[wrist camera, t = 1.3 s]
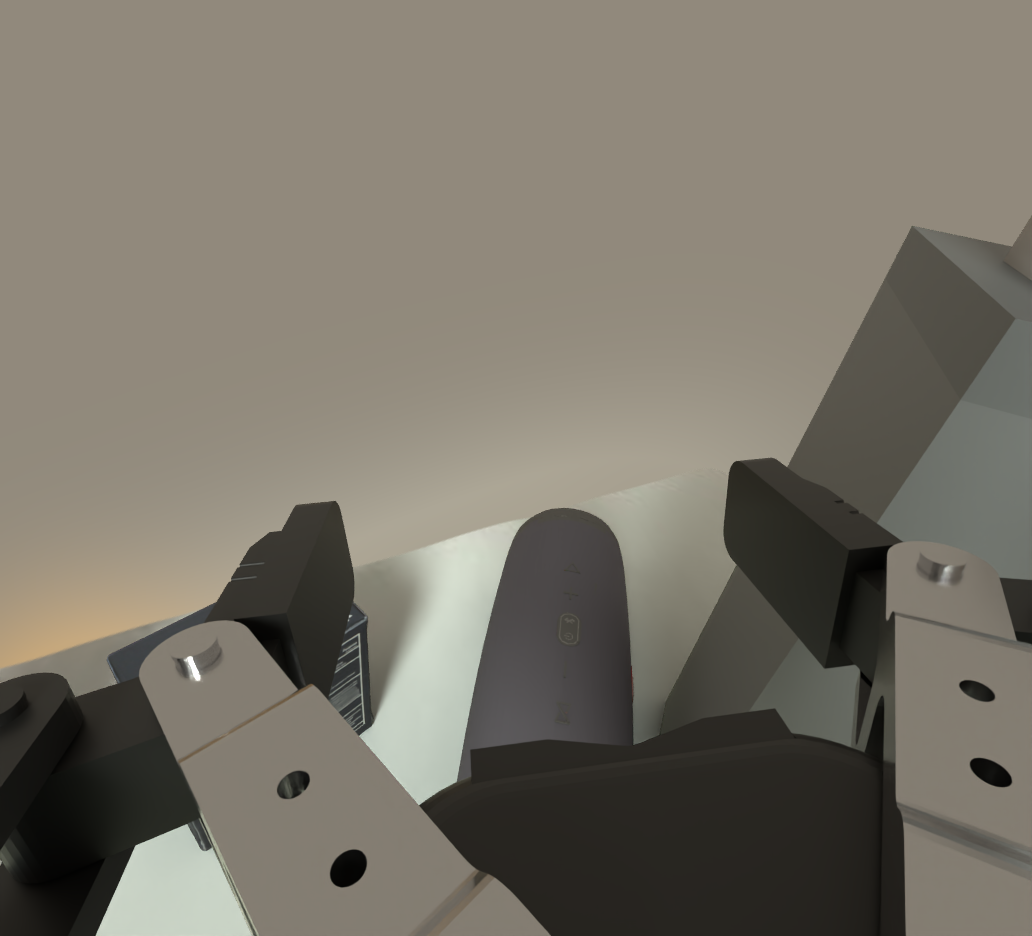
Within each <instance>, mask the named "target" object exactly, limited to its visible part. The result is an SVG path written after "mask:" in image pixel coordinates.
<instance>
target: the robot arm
mask: <svg viewBox="0 0 1032 936" xmlns="http://www.w3.org/2000/svg"><path fill="white" fill-rule="evenodd" d="M724 541H725V545H726V548H727V551H728V553H729V555H730V557H731V558H732V560H733V561H734V562H735V563H736V564H737V566H738V567H739V568H740V569H741V570H742V571H743V573H744V574H745V575H746V576H747V577H748V579H749V580H750V581H751V582H752V583H753V585H754V586H755V587H756V588H757V589H758V590H759V592H760V593H761V594H762V595H763V596H764V598H765V599H766V600H767V601H768V602H769V604H770V605H771V606H772V607H773V608H774V609H775V611H776V612H777V613H778V614H779V615H780V617H781V618H782V619H783V620H784V621H785V623H786V624H787V625H788V626H789V627H790V628H791V630H792V631H793V632H794V633H795V634H796V636H797V637H798V638H799V639H800V640H801V642H802V643H803V644H804V645H805V646H806V647H807V649H808V650H809V651H810V652H811V653H812V655H813V656H814V657H815V658H816V659H817V661H818V662H819V663H820V664H821V665H822V667H823V668H824V669H828V668H835V667H843V666H850V665H856V666H857V667H858V668H859V669H860V670H859V674H858V679H857V683H856V687H855V699H854V712H853V725H852V738H851V747H849V746H846V745H843V744H841V743H837V742H834V741H830V740H827V739H823V738H819V737H814V736H808V735H803V734H795V733H791V731H790V730H789V728H788V727H787V725H786V724H785V722H784V721H783V719H782V718H781V716H780V715H779V713H778V712H777V710H776V709H775V708H773V709H766V710H759V711H751V712H744V713H736V714H729V715H722V716H714V717H707V718H702V719H699V720H697V721H694V722H692V723H689V724H687V725H684V726H682V727H679V728H677V729H674V730H672V731H669V732H667V733H664V734H662V735H659V736H657V737H654V738H652V739H649V740H647V741H644V742H642V743H639V744H636V745H631V746H621V745H609V744H598V743H586V742H574V741H563V740H551V739H545V740H538V741H530V742H523V743H516V744H508V745H501V746H493V747H486V748H479V749H471V750H470V758H471V776H470V777H468V778H465V779H463V780H460V781H458V782H456V783H454V784H452V785H450V786H448V787H446V788H445V789H443V790H441V791H439V792H438V793H436V794H435V795H433V796H432V797H430V798H429V799H427V800H426V801H424V802H423V803H422V804H420V805H418V804H417V803H416V802H415V800H414V799H413V798H412V797H411V796H410V795H409V794H408V792H407V791H406V790H405V789H404V788H403V787H402V785H401V784H400V783H399V782H398V781H397V780H396V778H395V777H394V776H393V775H392V774H391V773H390V772H389V770H388V769H387V768H386V767H385V766H384V765H383V763H382V762H381V761H380V760H379V759H378V758H377V756H376V755H375V754H374V753H373V752H372V751H371V749H370V748H369V747H368V746H367V745H366V744H365V743H364V741H363V740H362V739H361V738H360V737H359V736H358V734H357V733H356V732H355V731H354V730H353V729H352V727H351V726H350V725H349V724H348V723H347V722H346V720H345V719H344V718H343V717H342V716H341V715H340V714H339V712H338V711H337V710H336V709H335V708H334V707H333V705H332V704H331V703H330V702H329V701H328V698H329V694H330V690H331V686H332V682H333V678H334V674H335V670H336V666H337V662H338V658H339V654H340V650H341V646H342V643H343V639H344V635H345V631H346V627H347V623H348V619H349V615H350V611H351V607H352V603H353V599H354V574H353V567H352V563H351V558H350V553H349V548H348V544H347V539H346V534H345V529H344V524H343V520H342V515H341V511H340V508H339V505H338V503H337V502H336V501H331V502H321V503H311V504H302V505H296V506H295V507H294V509H293V511H292V513H291V514H290V516H289V518H288V520H287V522H286V524H285V525H284V527H283V529H282V531H277V532H269V533H268V534H267V535H266V536H264V537H263V538H262V539H260V540H259V541H258V542H257V543H255V544H254V545H253V546H251V547H250V548H249V550H248V552H247V553H246V555H245V556H244V558H243V560H242V561H241V563H240V567H239V568H237V569H236V571H235V573H234V574H233V576H232V578H231V582H229V583H228V584H227V586H226V587H225V589H224V591H223V592H222V594H221V596H220V598H219V599H218V601H217V602H216V604H215V605H214V607H213V609H212V610H211V612H210V614H209V615H208V617H207V618H206V620H205V622H204V623H203V624H199V625H196V626H193V627H190V628H188V629H185V630H183V631H181V632H179V633H177V634H175V635H173V636H171V637H170V638H168V639H167V640H165V641H164V642H162V643H161V644H160V645H158V646H157V647H156V648H155V649H154V650H153V651H151V653H150V654H149V655H148V656H147V657H146V658H145V660H144V662H143V663H142V665H141V668H140V670H139V677H136V678H133V679H131V680H128V681H125V682H122V683H118V684H115V685H112V686H109V687H106V688H103V689H100V690H97V691H93V692H90V693H87V694H84V695H81V696H78V697H75V696H74V694H73V692H72V690H71V688H70V686H69V684H68V682H67V680H66V679H65V678H64V677H63V676H60V675H58V674H54V673H36V674H30V675H25V676H21V677H18V678H14V679H11V680H8V681H6V682H3V683H0V859H1V861H2V864H1V865H0V936H95V935H96V933H97V931H98V929H99V926H100V924H101V922H102V920H103V917H104V915H105V913H106V911H107V908H108V906H109V904H110V902H111V899H112V897H113V895H114V893H115V890H116V888H117V886H118V884H119V881H120V879H121V877H122V875H123V872H124V870H125V868H126V866H127V863H128V861H129V859H130V857H131V854H132V852H133V850H134V848H135V845H138V844H140V843H142V842H145V841H147V840H150V839H152V838H154V837H157V836H159V835H162V834H164V833H166V832H169V831H171V830H173V829H176V828H178V827H181V826H183V825H185V824H188V823H190V822H193V821H195V820H197V819H200V821H201V824H202V826H203V828H204V830H205V833H206V835H207V837H208V839H209V841H210V844H211V846H212V848H213V850H214V852H215V855H216V857H217V859H218V861H219V863H220V866H221V868H222V870H223V872H224V875H225V877H226V879H227V881H228V883H229V886H230V888H231V890H232V892H233V894H234V897H235V899H236V901H237V903H238V906H239V908H240V910H241V912H242V914H243V917H244V919H245V921H246V923H247V926H248V928H249V930H250V932H251V935H252V936H1032V580H1026V579H1012V578H999V575H998V573H997V571H996V570H995V569H994V568H993V567H992V566H991V565H990V564H989V563H987V562H986V561H984V560H983V559H981V558H979V557H977V556H975V555H973V554H971V553H969V552H967V551H964V550H961V549H958V548H955V547H952V546H948V545H944V544H939V543H933V542H925V541H908V542H903V541H901V540H900V539H898V538H897V537H896V536H894V535H893V534H891V533H890V532H889V531H887V530H886V529H884V528H883V527H881V526H880V525H879V524H877V523H876V522H874V521H873V520H871V519H870V518H869V517H867V516H866V515H864V514H863V513H860V514H859V510H857V509H856V508H854V507H853V506H851V505H850V504H849V503H844V500H843V499H842V498H840V497H839V496H837V495H836V494H834V493H833V492H832V491H830V490H829V489H827V488H826V487H823V486H821V485H818V484H816V483H813V482H810V481H808V480H805V479H803V478H801V477H800V476H798V475H797V474H796V473H794V472H793V471H791V470H790V469H789V468H787V467H786V466H784V465H783V464H782V463H780V462H779V461H778V460H776V459H774V458H764V459H754V460H744V461H736V462H734V463H733V464H732V466H731V468H730V472H729V479H728V489H727V499H726V509H725V519H724Z"/></svg>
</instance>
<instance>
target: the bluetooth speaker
mask: <svg viewBox="0 0 1032 936" xmlns="http://www.w3.org/2000/svg"><path fill="white" fill-rule="evenodd" d="M633 687H634V686H633V677H632V666H631V654H630V635H629V622H628V608H627V596H626V586H625V575H624V567H623V561H622V556H621V552H620V548H619V544H618V541H617V539H616V537H615V535H614V533H613V532H612V531H611V529H610V528H609V527H608V525H607V524H606V523H604V522H603V521H602V520H601V519H599V518H598V517H596V516H594V515H592V514H590V513H587V512H584V511H581V510H576V509H569V508H559V509H550V510H546V511H544V512H541V513H539V514H537V515H535V516H534V517H532V518H530V519H529V520H528V521H526V522H525V523H524V524H523V525H522V526H521V527H520V529H519V530H518V532H517V533H516V535H515V537H514V539H513V542H512V544H511V547H510V549H509V552H508V555H507V558H506V561H505V565H504V569H503V572H502V576H501V579H500V583H499V587H498V590H497V594H496V598H495V601H494V605H493V609H492V613H491V617H490V621H489V625H488V630H487V634H486V638H485V642H484V646H483V650H482V655H481V659H480V664H479V668H478V673H477V678H476V683H475V687H474V692H473V698H472V703H471V708H470V713H469V718H468V723H467V728H466V733H465V739H464V744H463V750H462V756H461V761H460V767H459V773H458V778H457V782H458V781H460V780H463V779H465V778H468V777H470V776H471V758H470V750H471V749H479V748H486V747H493V746H501V745H508V744H516V743H523V742H530V741H538V740H545V739H551V740H563V741H574V742H586V743H598V744H609V745H621V746H631V745H633V708H632V703H633V696H634V692H633V691H634V689H633Z"/></svg>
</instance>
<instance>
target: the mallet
mask: <svg viewBox="0 0 1032 936" xmlns="http://www.w3.org/2000/svg"><path fill="white" fill-rule="evenodd" d="M1004 262H1006V263H1007V264H1008V265H1010V266H1011V267H1013V268H1014V269H1016V270H1017V271H1019V272H1020V273H1022V274H1023V275H1024V276H1026V277H1027V278H1029V279H1030V280H1032V216H1031V218H1030V219H1029V221H1028V222H1027V224H1026V226H1025V227H1024V229H1023V230H1022V232H1021V234H1020V235H1019V237H1018V238H1017V240H1016V242H1015V243H1014V245H1013V246H1012V248H1011V250H1010V251H1009V253H1008V254H1007V256H1006V257H1005V259H1004Z"/></svg>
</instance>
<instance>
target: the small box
mask: <svg viewBox="0 0 1032 936" xmlns="http://www.w3.org/2000/svg"><path fill="white" fill-rule="evenodd" d="M215 604H216V603H213V604H211V605H209V606H207V607H205V608H203V609H201V610H199V611H197V612H195V613H193V614H191V615H189V616H187V617H185V618H183V619H181V620H179V621H177V622H175V623H173V624H171V625H169V626H167V627H165V628H163V629H161V630H159V631H157V632H155V633H153V634H151V635H149V636H147V637H145V638H142V639H140V640H138V641H136V642H134V643H132V644H130V645H128V646H126V647H124V648H122V649H120V650H118V651H116V652H114V653H112V654H110V655H109V656H108V657H107V662H108V664H109V666H110V669H111V670H112V673H113V675H114V677H115V679H116V681H117V683H122V682H125V681H128V680H131V679H133V678H136V677H139V670H140V668H141V665H142V663H143V662H144V660H145V658H146V657H147V656H148V655H149V654H150V653H151V651H153V650H154V649H155V648H156V647H157V646H158V645H160V644H161V643H162V642H164V641H165V640H167V639H168V638H170V637H171V636H173V635H175V634H177V633H179V632H181V631H183V630H185V629H188V628H190V627H193V626H196V625H199V624H203V623H204V622H205V620H206V618H207V617H208V615H209V614H210V612H211V610H212V609H213V607H214V605H215ZM367 623H368V616H367V615H366V614H365V613H364V612H363V611H362V610H361V609H360V608H359V607H358V606H357V605H356V604H355V603H354V602H353V603H352V607H351V611H350V615H349V619H348V623H347V627H346V631H345V635H344V639H343V643H342V646H341V650H340V654H339V658H338V662H337V666H336V670H335V674H334V678H333V682H332V686H331V690H330V694H329V698H328V701H329V702H330V703H331V704H332V705H333V707H334V708H335V709H336V710H337V711H338V712H339V714H340V715H341V716H342V717H343V718H344V719H345V720H346V722H347V723H348V724H349V725H350V726H351V727H352V729H353V730H354V731H355V732H356V733H357V734H358V736H359V735H360V734H361V733H363V732H364V731H365V730H367V729H368V728H369V727H371V726H372V722H373V715H372V712H371V702H370V679H369V662H368V643H367ZM188 826H189V828H190V830H191V832H192V833H193V835H194V837H195V839H196V841H197V843H198V845H199V847H200V848H201V849H202V850H203V851H207V850H209V849H210V848H211V847H212V846H211V844H210V841H209V839H208V837H207V835H206V833H205V830H204V828H203V826H202V824H201V821H200V819H197V820H195V821H193V822H190V823H188Z"/></svg>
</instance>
